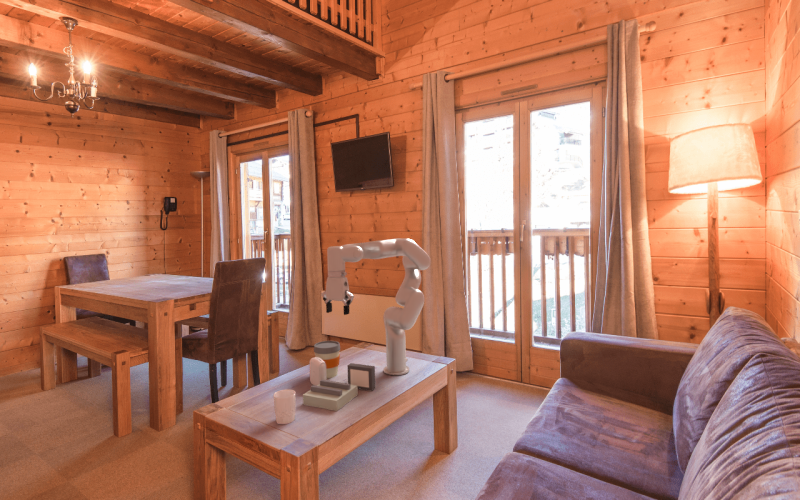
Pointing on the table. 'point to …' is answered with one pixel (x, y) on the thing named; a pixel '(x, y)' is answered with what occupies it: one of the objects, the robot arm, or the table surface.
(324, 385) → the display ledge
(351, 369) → the thin grey panel
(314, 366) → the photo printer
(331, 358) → the reusable coffee cup
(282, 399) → the white cup
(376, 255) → the robot arm
